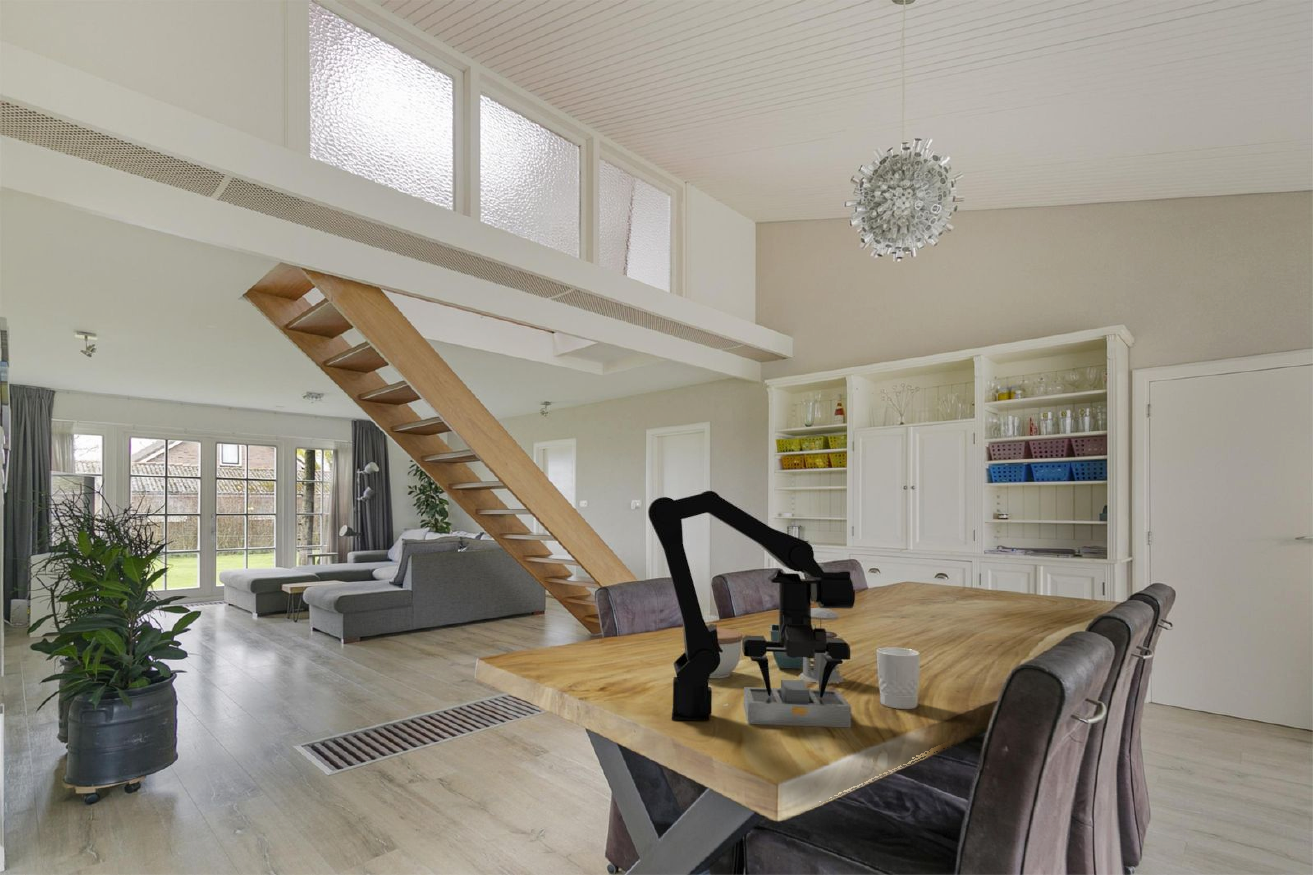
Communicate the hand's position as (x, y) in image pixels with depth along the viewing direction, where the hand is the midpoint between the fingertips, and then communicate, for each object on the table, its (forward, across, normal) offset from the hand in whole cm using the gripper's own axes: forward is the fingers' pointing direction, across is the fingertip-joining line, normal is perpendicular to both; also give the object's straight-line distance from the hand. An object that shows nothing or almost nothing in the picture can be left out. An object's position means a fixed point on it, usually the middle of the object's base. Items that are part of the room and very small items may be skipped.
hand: (795, 696), depth 125 cm
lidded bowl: (+4, -14, +29) cm, 33 cm away
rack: (+4, 0, 0) cm, 4 cm away
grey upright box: (+2, 0, 0) cm, 2 cm away
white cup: (+4, +21, +10) cm, 24 cm away
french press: (+4, +9, +28) cm, 30 cm away
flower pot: (+4, +4, +39) cm, 40 cm away
